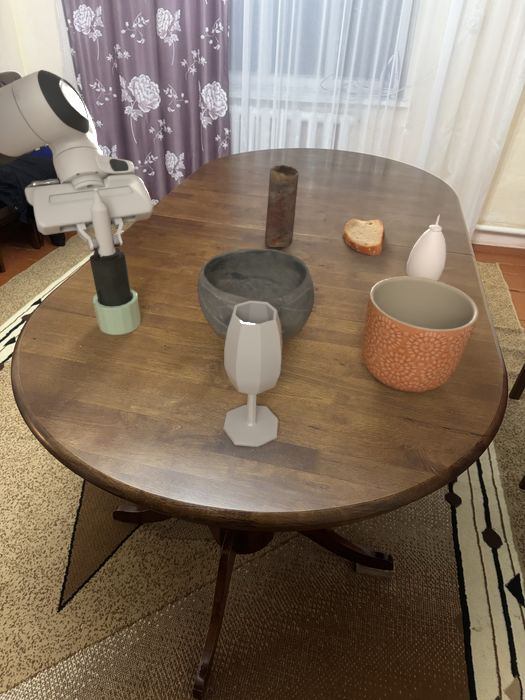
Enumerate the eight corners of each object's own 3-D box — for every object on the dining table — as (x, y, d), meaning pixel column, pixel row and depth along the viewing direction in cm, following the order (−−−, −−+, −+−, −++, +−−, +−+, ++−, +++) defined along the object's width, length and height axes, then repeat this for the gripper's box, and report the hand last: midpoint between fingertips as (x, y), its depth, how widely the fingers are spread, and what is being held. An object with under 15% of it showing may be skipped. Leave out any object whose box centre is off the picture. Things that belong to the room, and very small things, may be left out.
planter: (373, 335, 93) (388, 267, 84) (460, 364, 87) (487, 293, 78) (340, 382, 81) (354, 308, 72) (438, 420, 75) (467, 344, 66)
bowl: (180, 329, 92) (174, 260, 83) (264, 299, 103) (267, 235, 94) (241, 387, 79) (242, 312, 70) (330, 345, 90) (341, 276, 81)
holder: (98, 337, 89) (93, 310, 86) (98, 314, 95) (92, 289, 92) (142, 331, 91) (138, 305, 88) (139, 310, 97) (135, 284, 94)
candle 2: (291, 240, 129) (297, 165, 117) (293, 251, 123) (300, 174, 111) (264, 239, 129) (267, 164, 117) (265, 250, 123) (268, 172, 111)
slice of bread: (370, 258, 122) (373, 245, 119) (322, 235, 133) (323, 222, 130) (412, 242, 131) (415, 229, 129) (363, 222, 142) (365, 210, 140)
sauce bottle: (443, 292, 108) (466, 217, 98) (419, 300, 105) (440, 223, 94) (418, 278, 114) (437, 205, 103) (395, 285, 110) (412, 211, 100)
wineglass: (218, 411, 74) (215, 298, 62) (271, 404, 76) (278, 292, 64) (228, 453, 68) (227, 335, 55) (286, 443, 70) (297, 327, 57)
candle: (136, 311, 93) (118, 185, 78) (120, 324, 89) (97, 194, 74) (115, 305, 95) (93, 180, 80) (98, 317, 91) (72, 189, 76)
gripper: (19, 173, 77) (44, 251, 76) (141, 160, 85) (164, 231, 84) (23, 191, 82) (45, 265, 81) (136, 178, 91) (158, 244, 90)
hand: (107, 247), depth 83 cm, fingers closed on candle, 3 cm apart
